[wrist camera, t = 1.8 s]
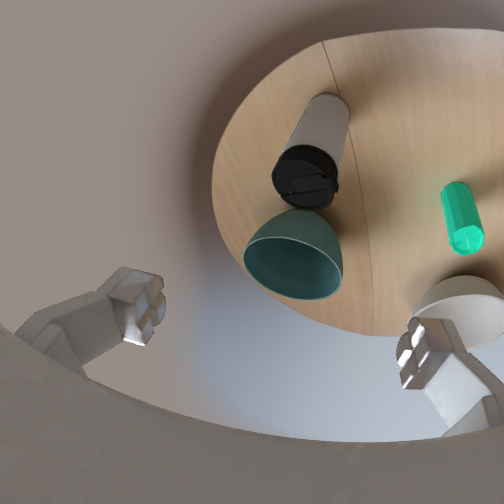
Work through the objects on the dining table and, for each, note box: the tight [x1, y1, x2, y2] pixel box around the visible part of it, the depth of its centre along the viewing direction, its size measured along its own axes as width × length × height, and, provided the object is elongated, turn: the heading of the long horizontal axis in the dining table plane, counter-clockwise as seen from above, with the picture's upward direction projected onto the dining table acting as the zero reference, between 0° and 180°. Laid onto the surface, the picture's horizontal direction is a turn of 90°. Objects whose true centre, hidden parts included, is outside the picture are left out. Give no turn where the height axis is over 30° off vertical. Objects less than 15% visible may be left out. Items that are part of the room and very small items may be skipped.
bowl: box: [406, 275, 504, 350], centre depth 50 cm, size 27×27×10 cm
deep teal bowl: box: [242, 209, 343, 301], centre depth 53 cm, size 18×18×12 cm
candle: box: [441, 182, 484, 256], centre depth 34 cm, size 6×6×12 cm
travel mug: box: [272, 93, 350, 211], centre depth 30 cm, size 6×7×20 cm
